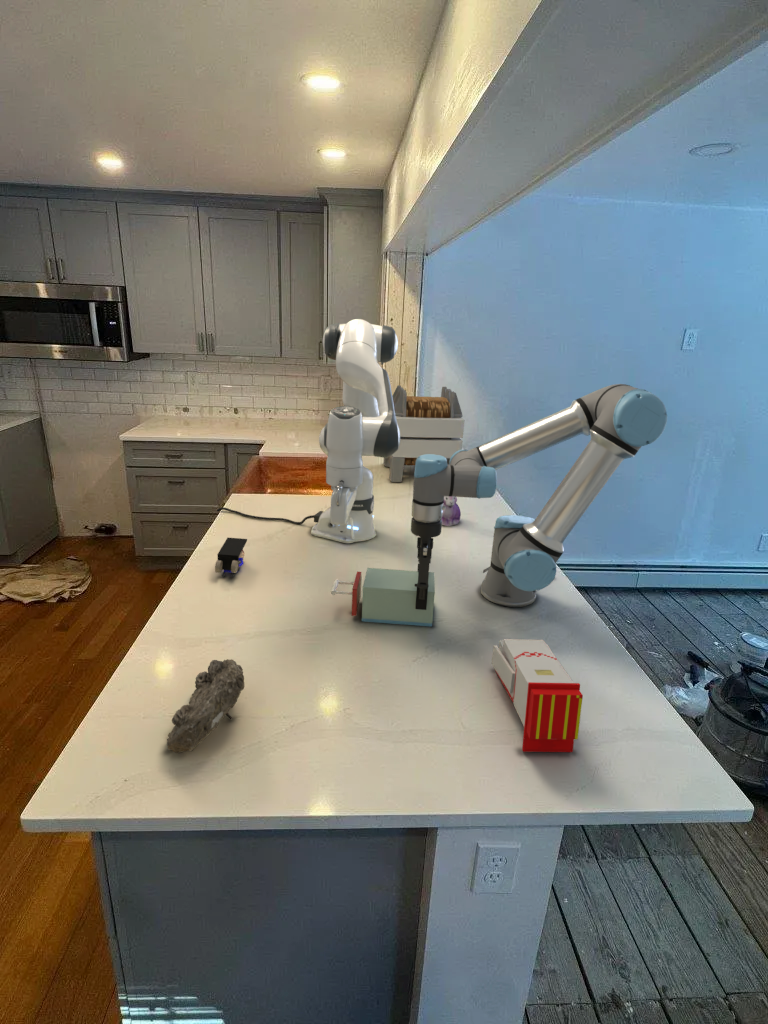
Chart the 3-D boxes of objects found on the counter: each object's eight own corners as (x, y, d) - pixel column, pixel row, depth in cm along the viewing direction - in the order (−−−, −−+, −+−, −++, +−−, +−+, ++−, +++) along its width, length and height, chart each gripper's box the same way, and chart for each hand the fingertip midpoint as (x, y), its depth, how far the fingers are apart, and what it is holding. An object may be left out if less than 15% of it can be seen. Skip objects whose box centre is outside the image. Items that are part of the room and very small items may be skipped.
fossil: (192, 660, 117) (244, 628, 112) (224, 691, 120) (276, 661, 115) (142, 746, 98) (202, 712, 93) (182, 779, 101) (242, 748, 96)
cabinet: (361, 621, 143) (362, 587, 140) (366, 599, 154) (367, 567, 151) (432, 626, 142) (434, 592, 139) (431, 604, 153) (434, 572, 150)
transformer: (382, 463, 289) (386, 382, 275) (445, 464, 293) (451, 384, 279) (390, 482, 257) (394, 392, 243) (460, 483, 261) (468, 394, 247)
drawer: (329, 614, 144) (329, 587, 141) (335, 595, 153) (335, 569, 151) (416, 620, 143) (418, 593, 140) (417, 601, 152) (418, 575, 150)
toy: (540, 622, 128) (592, 691, 98) (535, 677, 130) (584, 759, 101) (487, 621, 127) (523, 690, 98) (483, 676, 130) (516, 758, 101)
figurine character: (238, 584, 162) (249, 557, 175) (236, 562, 158) (247, 536, 172) (215, 584, 161) (227, 556, 175) (212, 561, 158) (225, 535, 171)
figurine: (446, 528, 206) (449, 489, 201) (431, 519, 215) (434, 481, 210) (467, 524, 211) (471, 486, 206) (452, 516, 219) (455, 478, 214)
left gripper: (351, 489, 127) (350, 546, 131) (362, 465, 146) (360, 516, 151) (323, 487, 127) (323, 544, 132) (337, 464, 146) (336, 514, 151)
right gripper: (443, 537, 127) (436, 622, 135) (441, 503, 150) (435, 577, 157) (410, 535, 128) (404, 619, 135) (412, 501, 150) (408, 575, 157)
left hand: (343, 529), depth 141 cm, fingers closed
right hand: (421, 597), depth 146 cm, fingers closed on cabinet, 11 cm apart
